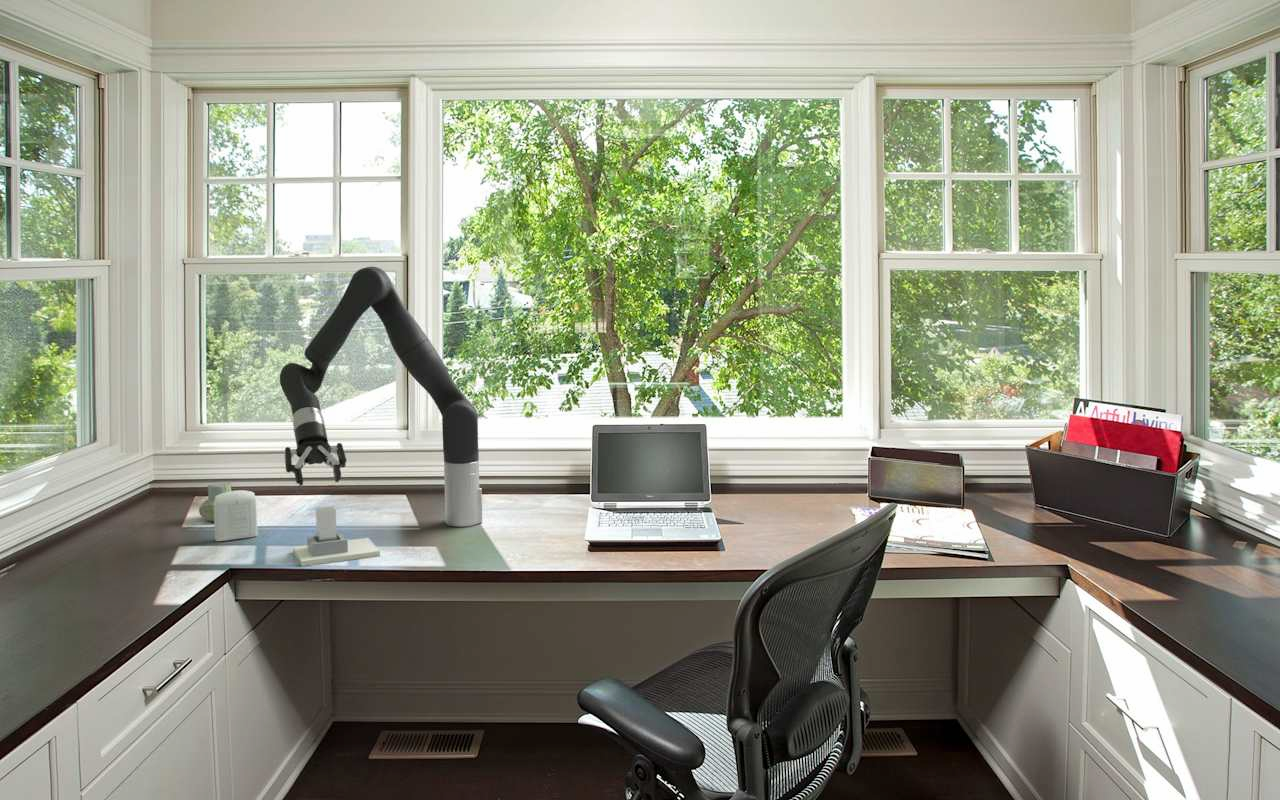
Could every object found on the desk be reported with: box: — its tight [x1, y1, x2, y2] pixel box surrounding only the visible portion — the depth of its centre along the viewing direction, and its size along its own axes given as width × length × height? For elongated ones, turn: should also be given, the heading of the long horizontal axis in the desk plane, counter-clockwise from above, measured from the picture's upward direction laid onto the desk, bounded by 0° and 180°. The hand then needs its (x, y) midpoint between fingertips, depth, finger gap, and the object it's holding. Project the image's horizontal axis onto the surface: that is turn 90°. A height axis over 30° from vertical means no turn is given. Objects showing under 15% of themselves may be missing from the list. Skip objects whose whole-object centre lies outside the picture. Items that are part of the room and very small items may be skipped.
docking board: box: [292, 531, 381, 567], centre depth 234 cm, size 18×13×4 cm
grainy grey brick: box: [315, 506, 337, 542], centre depth 233 cm, size 4×4×10 cm
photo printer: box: [213, 489, 259, 542], centre depth 247 cm, size 10×4×12 cm, turn 123°
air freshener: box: [198, 481, 232, 523], centre depth 266 cm, size 11×8×10 cm
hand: (319, 482), depth 238 cm, fingers open, 8 cm apart
